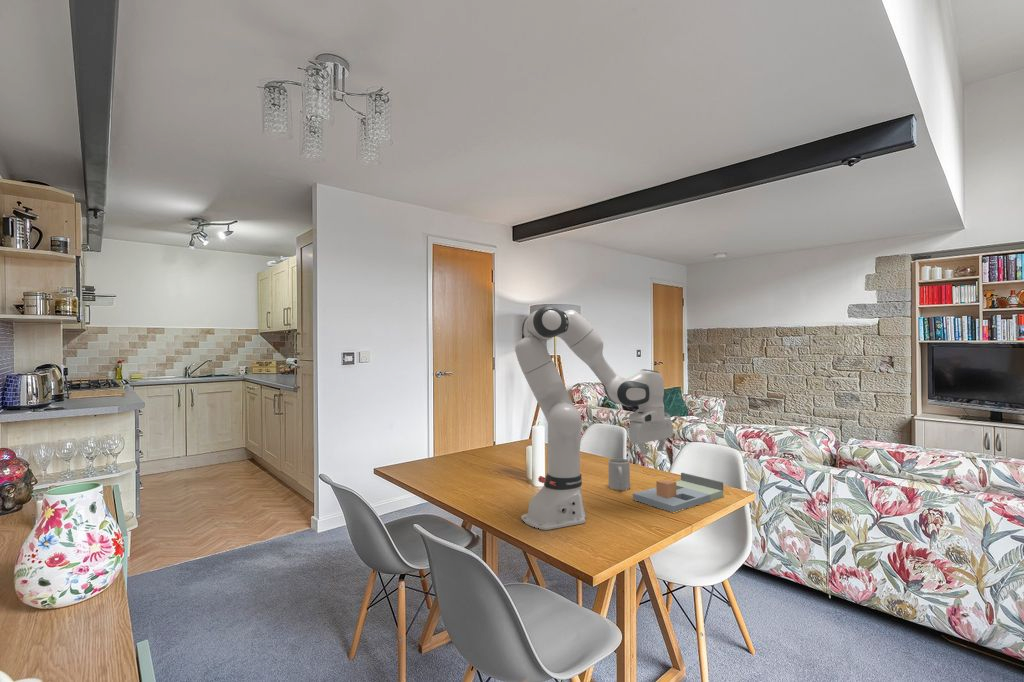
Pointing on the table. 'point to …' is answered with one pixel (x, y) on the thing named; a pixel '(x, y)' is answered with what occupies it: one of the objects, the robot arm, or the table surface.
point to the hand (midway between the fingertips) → (652, 452)
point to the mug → (619, 474)
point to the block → (666, 488)
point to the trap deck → (683, 493)
